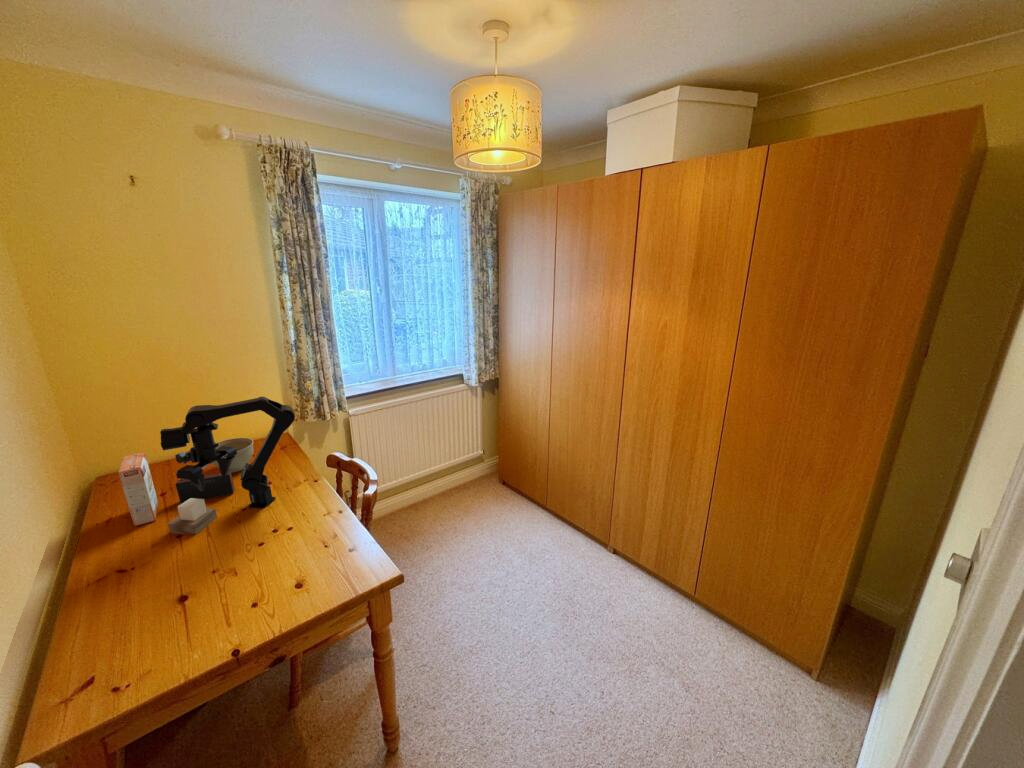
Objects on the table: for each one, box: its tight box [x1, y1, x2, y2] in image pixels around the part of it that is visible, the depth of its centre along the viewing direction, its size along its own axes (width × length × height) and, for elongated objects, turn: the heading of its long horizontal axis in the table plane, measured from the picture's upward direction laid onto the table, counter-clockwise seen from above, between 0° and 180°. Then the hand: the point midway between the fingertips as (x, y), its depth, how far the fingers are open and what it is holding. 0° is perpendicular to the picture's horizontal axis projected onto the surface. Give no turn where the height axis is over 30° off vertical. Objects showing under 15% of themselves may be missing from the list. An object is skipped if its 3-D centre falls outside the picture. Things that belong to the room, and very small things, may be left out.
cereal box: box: [118, 452, 159, 527], centre depth 138 cm, size 14×6×21 cm, turn 37°
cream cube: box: [176, 498, 207, 521], centre depth 134 cm, size 5×5×5 cm
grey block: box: [167, 507, 218, 535], centre depth 135 cm, size 9×9×4 cm
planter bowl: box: [213, 437, 254, 474], centre depth 171 cm, size 16×16×11 cm
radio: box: [175, 463, 236, 505], centre depth 149 cm, size 19×3×15 cm, turn 114°
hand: (213, 483), depth 138 cm, fingers open, 9 cm apart
